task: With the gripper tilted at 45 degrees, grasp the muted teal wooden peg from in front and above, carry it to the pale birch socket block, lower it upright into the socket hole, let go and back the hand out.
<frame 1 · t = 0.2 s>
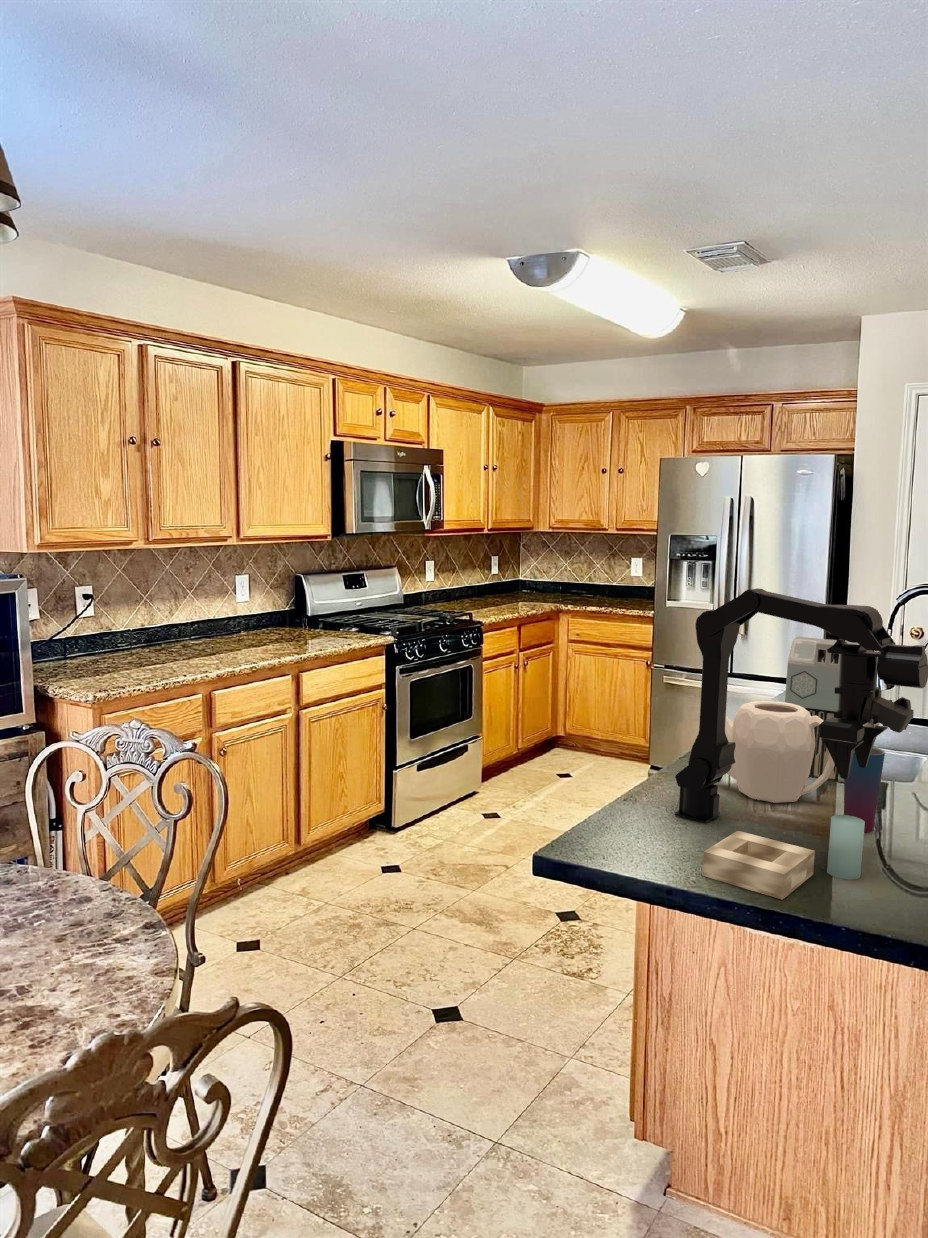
hand: (853, 772, 154), 14 cm above the table, tool pointing down, fingers open, 9 cm apart
device: (821, 776, 203), on the table
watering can: (763, 795, 188), on the table
cup: (858, 829, 169), on the table
socket: (757, 875, 146), on the table
peg: (843, 873, 148), on the table
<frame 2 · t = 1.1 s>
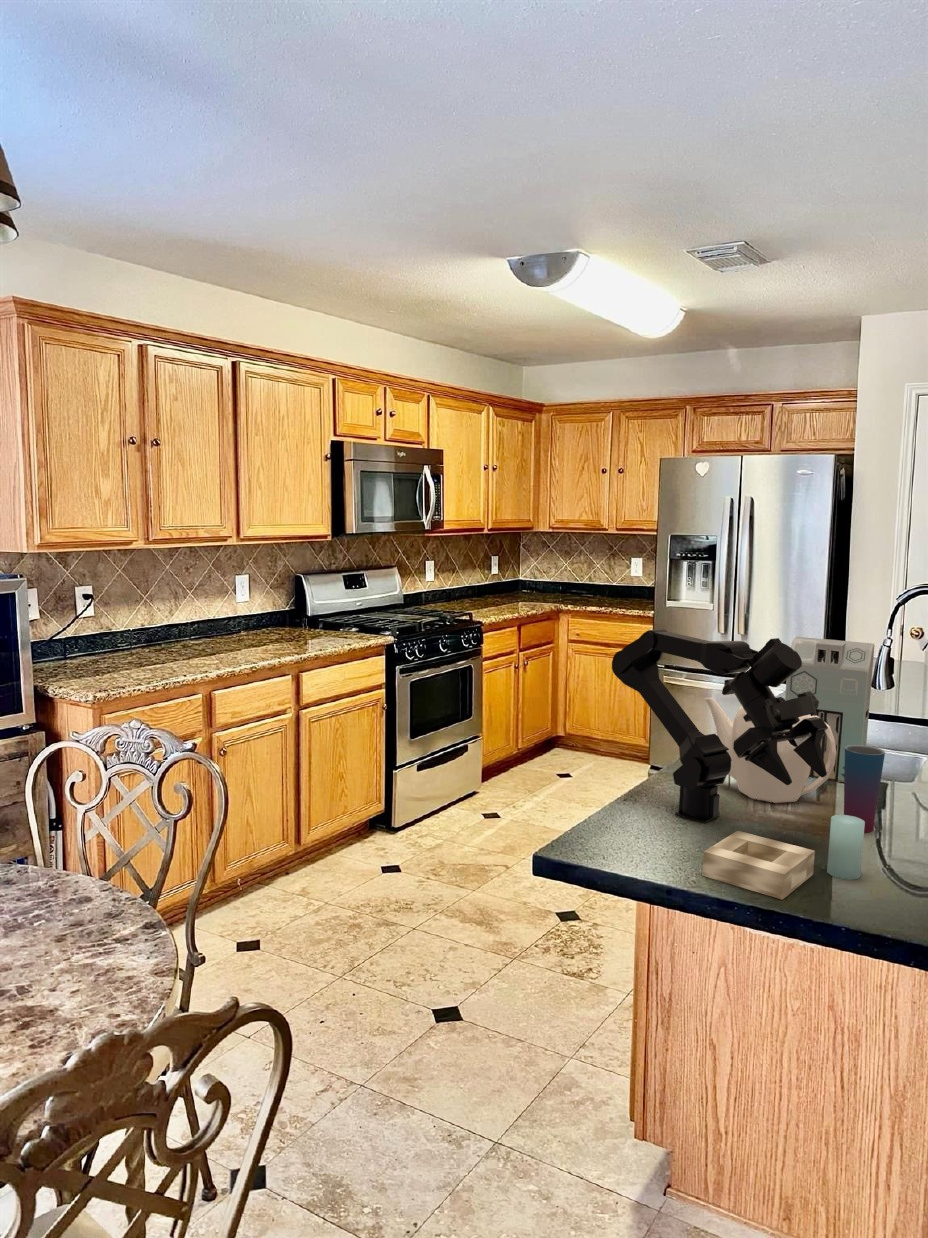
hand: (807, 780, 153), 13 cm above the table, tool tilted 45°, fingers open, 9 cm apart
nothing on the table moved.
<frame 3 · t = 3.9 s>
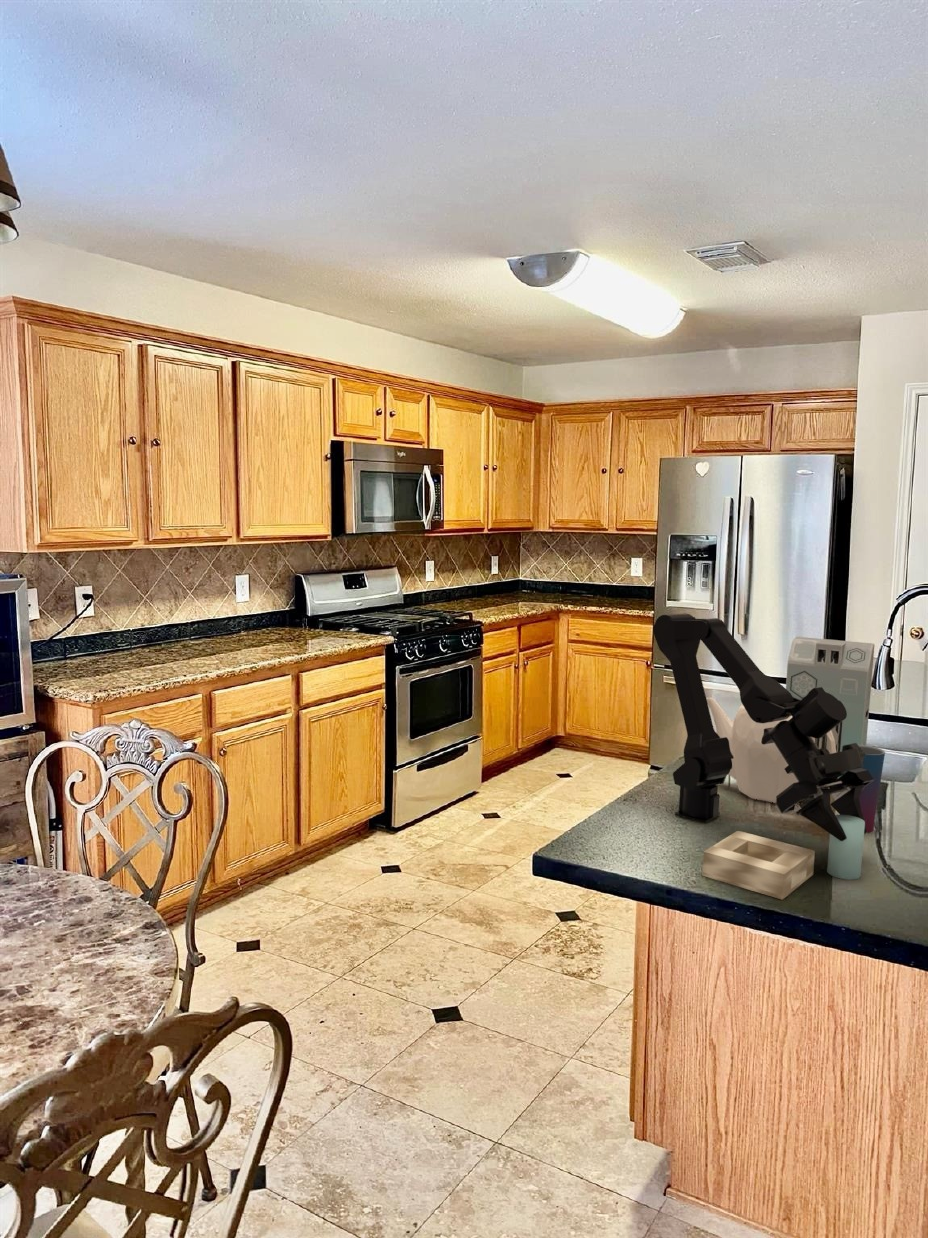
hand: (854, 837, 146), 7 cm above the table, tool tilted 45°, fingers closed on peg, 5 cm apart
peg: (843, 873, 148), on the table, touching gripper
everything else where it was.
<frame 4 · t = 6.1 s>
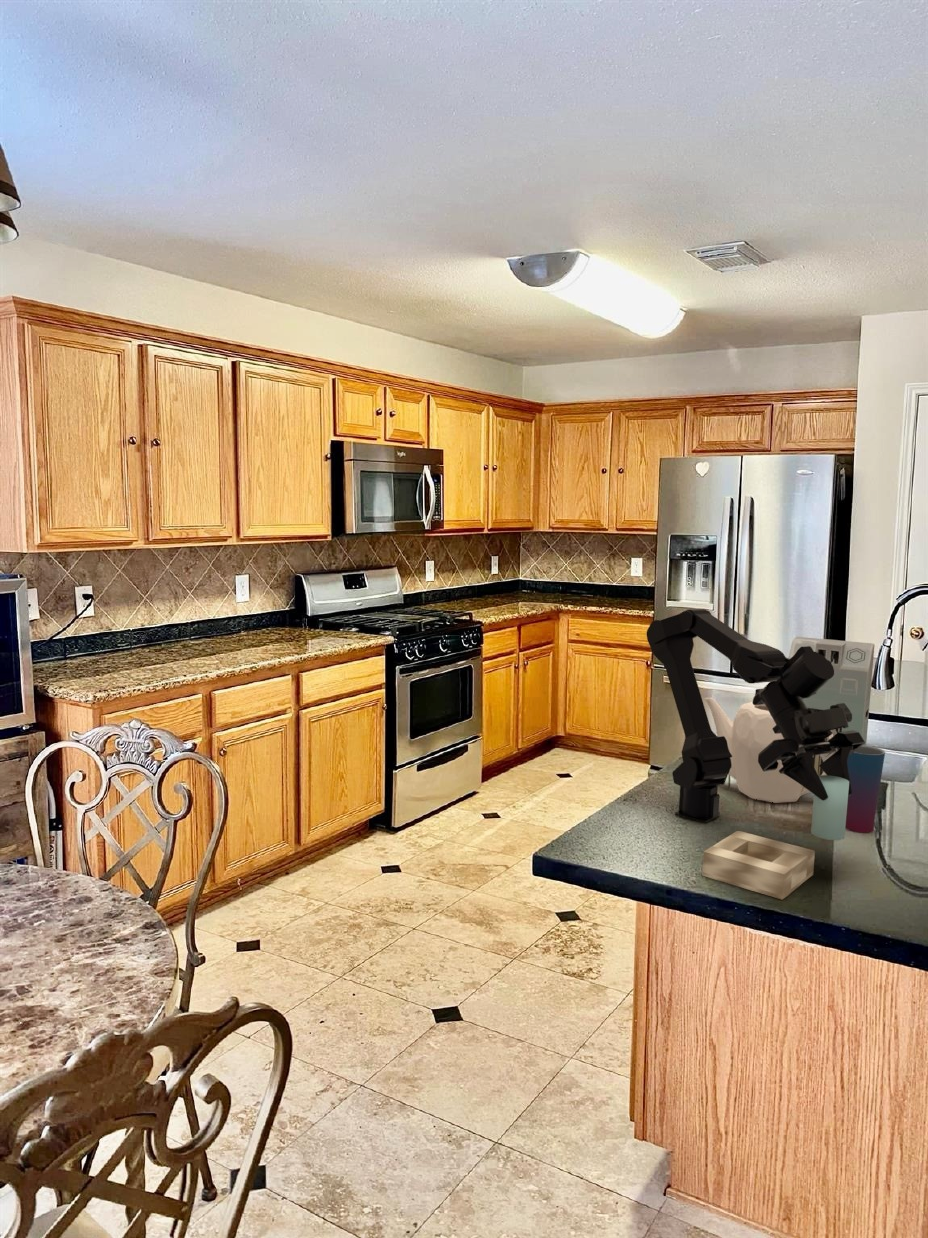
hand: (837, 797, 144), 13 cm above the table, tool tilted 45°, fingers closed on peg, 5 cm apart
peg: (827, 834, 146), point 7 cm above the table, touching gripper
everything else where it was.
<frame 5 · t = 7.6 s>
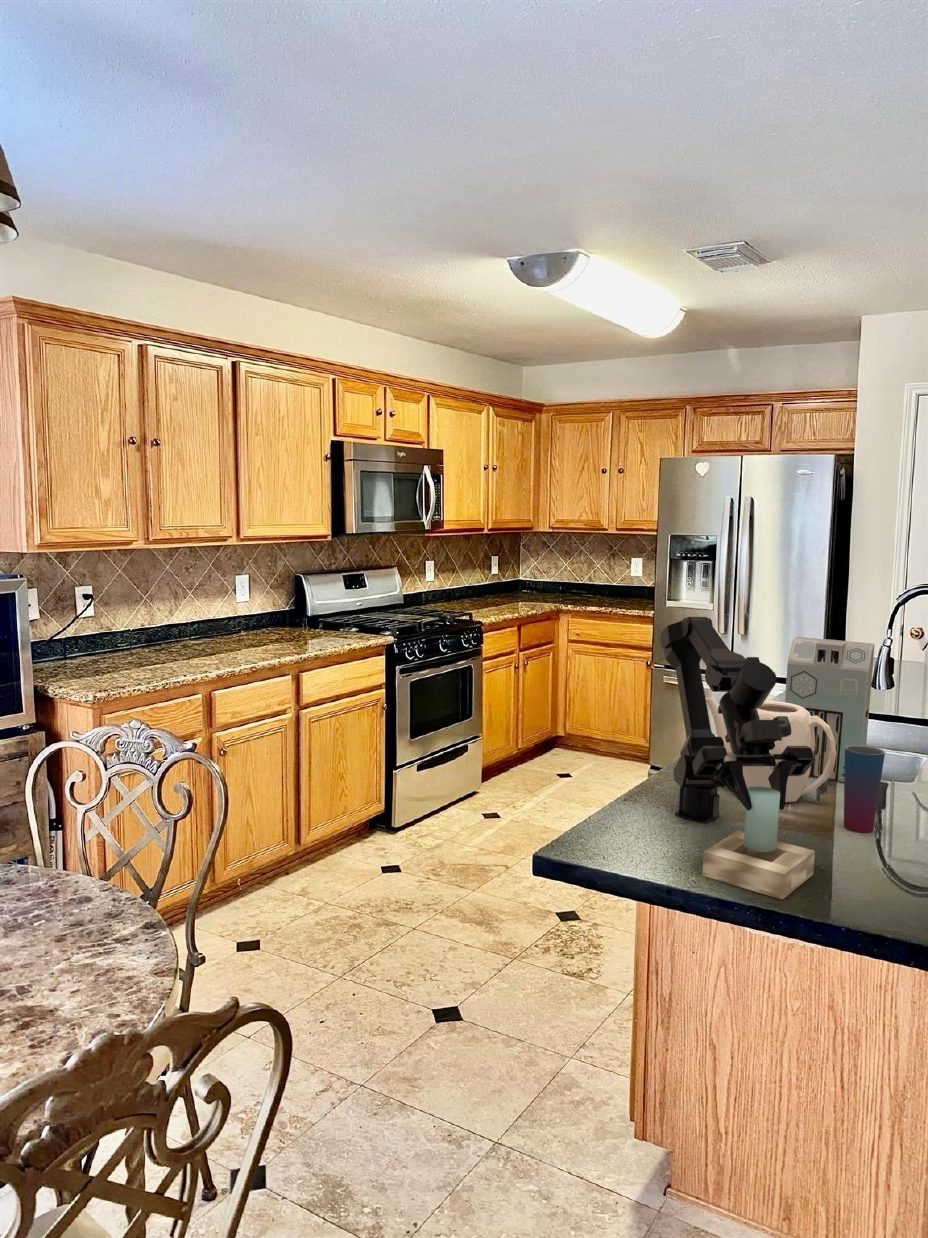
hand: (766, 809, 144), 11 cm above the table, tool tilted 45°, fingers closed on peg, 5 cm apart
peg: (759, 846, 146), point 5 cm above the table, touching gripper
everything else where it was.
when the fingers open (8 cm above the table, at t = 8.6 s): peg drops 1 cm, resting on socket.
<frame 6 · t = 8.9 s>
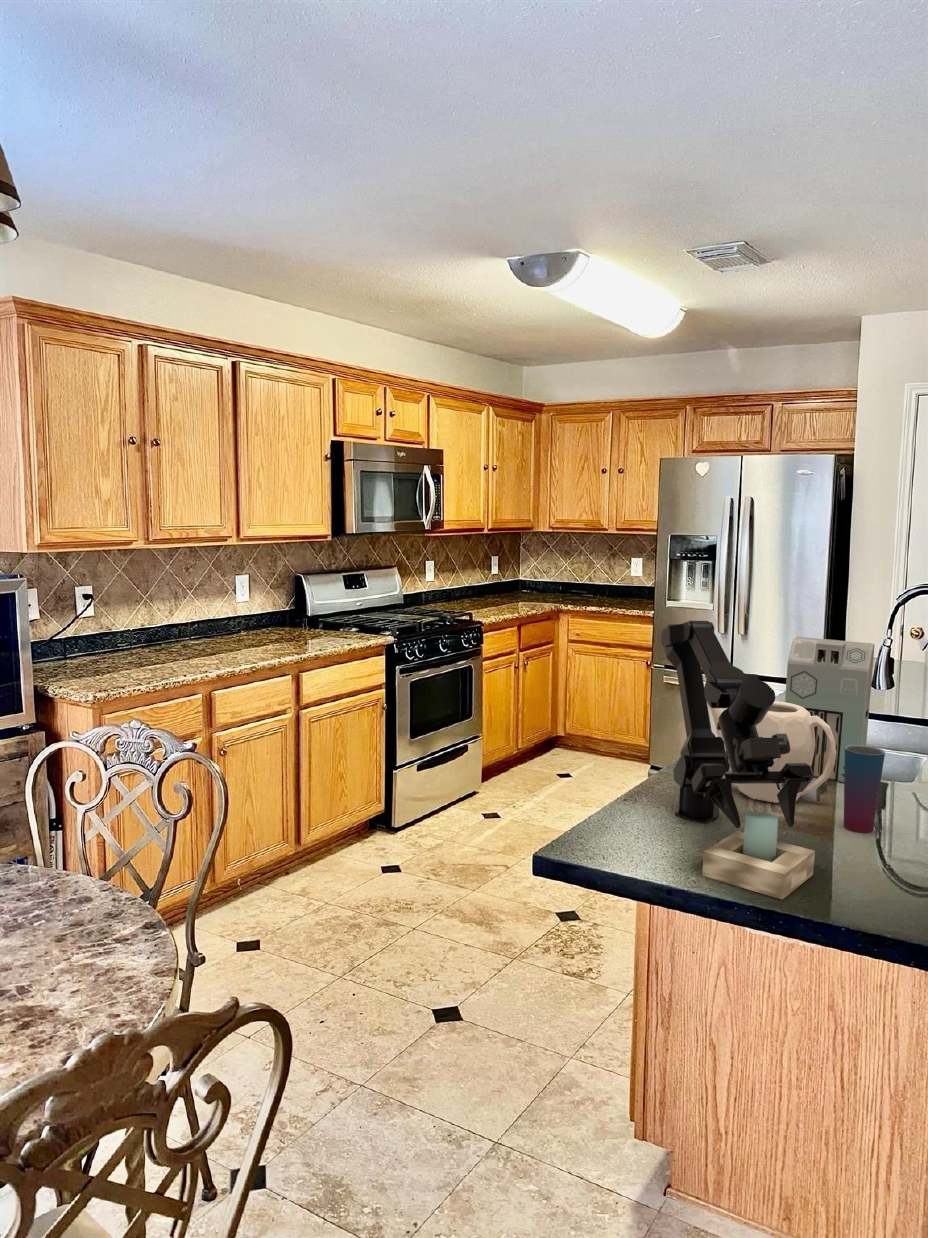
hand: (765, 826, 144), 9 cm above the table, tool tilted 45°, fingers open, 8 cm apart
peg: (758, 871, 146), point 1 cm above the table, touching socket
everything else where it was.
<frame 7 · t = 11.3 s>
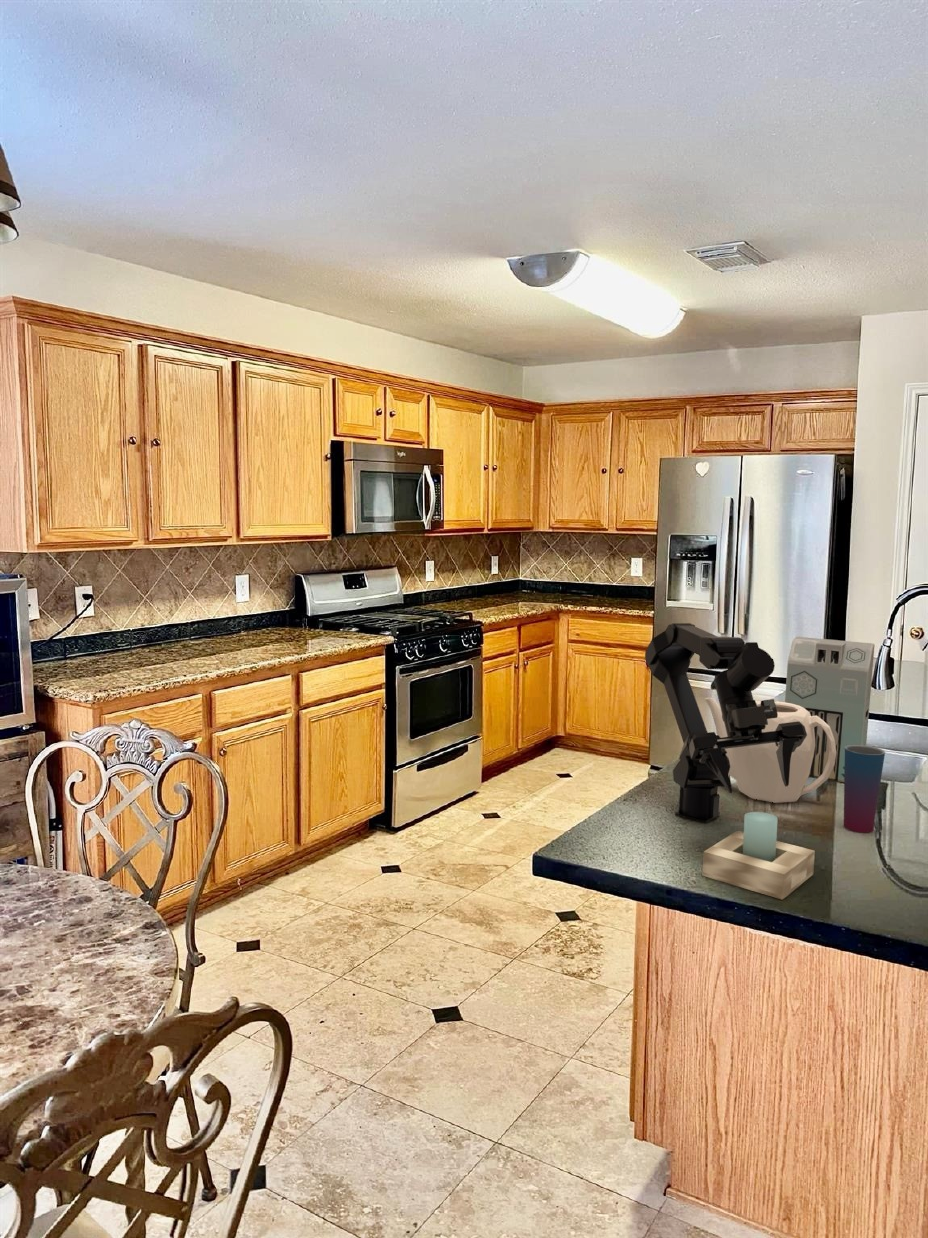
hand: (759, 789, 151), 12 cm above the table, tool tilted 35°, fingers open, 9 cm apart
nothing on the table moved.
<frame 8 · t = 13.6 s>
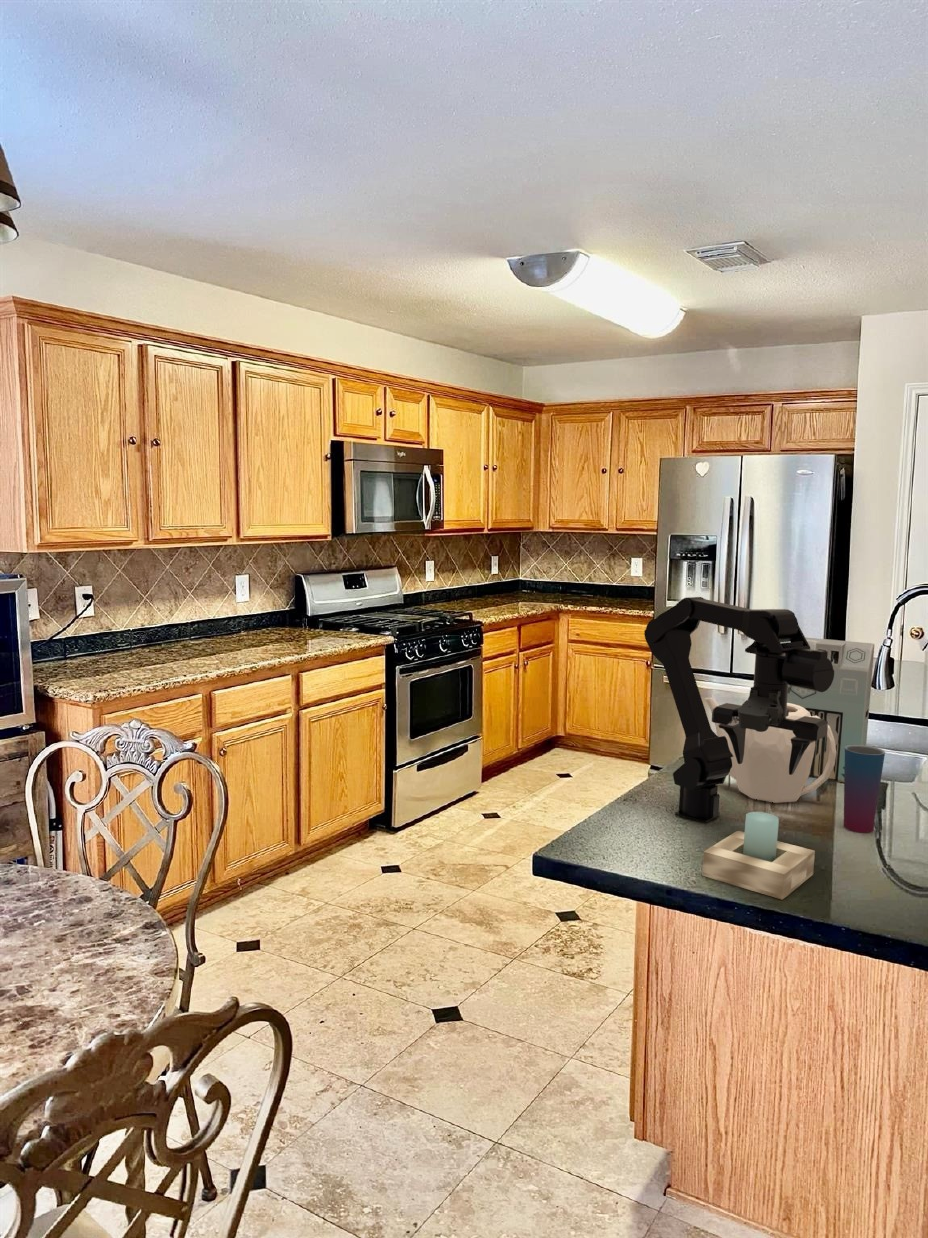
hand: (765, 769, 160), 13 cm above the table, tool pointing down, fingers open, 9 cm apart
nothing on the table moved.
at the end: peg 0.0 cm off-centre on the socket, point 0.6 cm above the socket's base; peg tilted 1°; the gripper is holding nothing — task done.
